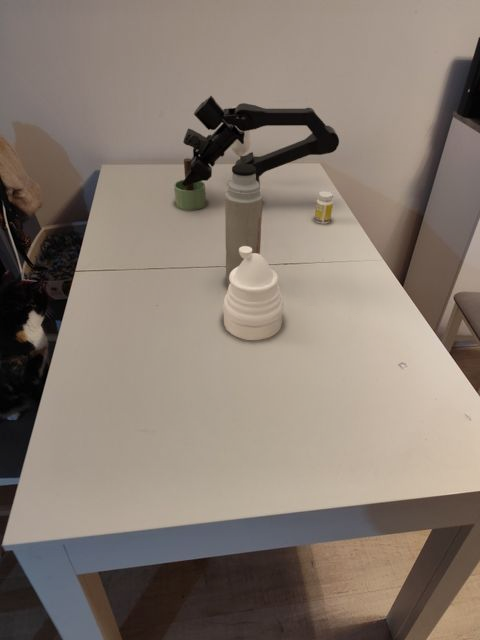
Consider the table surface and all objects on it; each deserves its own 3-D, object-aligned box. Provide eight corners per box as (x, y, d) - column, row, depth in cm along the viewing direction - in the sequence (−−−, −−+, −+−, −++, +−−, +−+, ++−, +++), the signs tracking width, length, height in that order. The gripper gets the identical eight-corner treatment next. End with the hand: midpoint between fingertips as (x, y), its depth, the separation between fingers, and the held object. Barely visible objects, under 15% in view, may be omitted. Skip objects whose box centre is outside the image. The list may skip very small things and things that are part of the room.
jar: (181, 195, 145) (180, 177, 141) (209, 199, 144) (208, 181, 140) (171, 207, 138) (169, 188, 134) (200, 211, 137) (199, 192, 133)
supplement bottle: (329, 217, 138) (334, 191, 132) (330, 224, 134) (334, 197, 129) (314, 216, 138) (317, 189, 133) (314, 223, 135) (317, 196, 129)
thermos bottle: (261, 276, 112) (267, 162, 93) (254, 294, 106) (259, 176, 87) (230, 272, 113) (230, 158, 94) (222, 289, 107) (220, 171, 88)
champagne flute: (228, 181, 156) (226, 105, 140) (246, 179, 158) (247, 104, 141) (233, 189, 151) (232, 111, 135) (252, 187, 153) (253, 110, 137)
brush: (199, 201, 141) (197, 159, 133) (191, 205, 139) (188, 163, 130) (189, 198, 143) (186, 156, 134) (181, 202, 140) (178, 160, 132)
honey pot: (230, 344, 92) (229, 269, 80) (218, 307, 101) (216, 235, 89) (289, 335, 95) (297, 262, 83) (272, 300, 104) (277, 230, 92)
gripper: (200, 110, 132) (167, 148, 139) (197, 130, 118) (159, 170, 125) (227, 139, 138) (193, 174, 144) (227, 161, 124) (189, 198, 131)
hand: (184, 178), depth 136 cm, fingers open, 9 cm apart
